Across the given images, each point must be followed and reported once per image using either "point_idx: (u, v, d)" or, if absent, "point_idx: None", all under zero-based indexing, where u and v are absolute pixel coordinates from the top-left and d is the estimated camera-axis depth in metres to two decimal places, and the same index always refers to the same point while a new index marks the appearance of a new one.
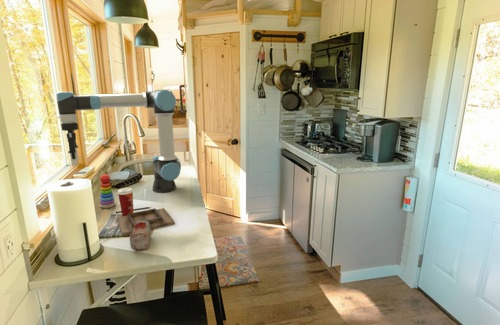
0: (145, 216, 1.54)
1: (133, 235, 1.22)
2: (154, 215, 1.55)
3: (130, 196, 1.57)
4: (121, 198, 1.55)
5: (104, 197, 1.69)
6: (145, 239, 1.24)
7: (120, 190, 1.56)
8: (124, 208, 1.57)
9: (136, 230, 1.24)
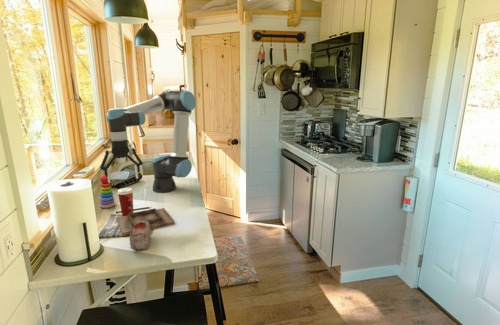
0: (145, 216, 1.54)
1: (133, 235, 1.22)
2: (154, 215, 1.55)
3: (130, 196, 1.57)
4: (121, 198, 1.55)
5: (104, 197, 1.69)
6: (145, 239, 1.24)
7: (120, 190, 1.56)
8: (124, 208, 1.57)
9: (135, 230, 1.24)
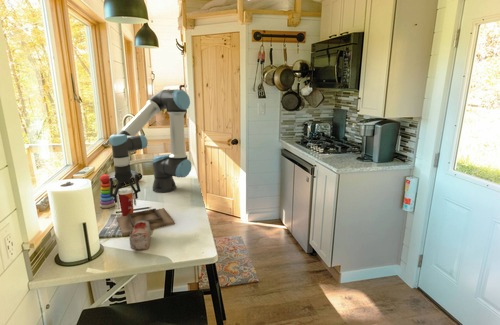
0: (145, 216, 1.54)
1: (133, 235, 1.22)
2: (154, 215, 1.55)
3: (130, 196, 1.57)
4: (121, 198, 1.55)
5: (104, 197, 1.69)
6: (145, 239, 1.24)
7: (120, 190, 1.56)
8: (124, 208, 1.57)
9: (135, 230, 1.24)
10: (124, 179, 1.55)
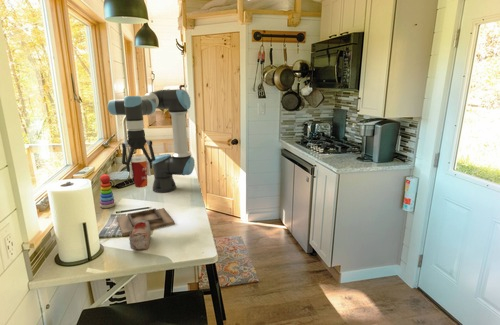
0: (145, 216, 1.54)
1: (133, 235, 1.22)
2: (154, 215, 1.55)
3: (144, 165, 1.43)
4: (134, 167, 1.41)
5: (104, 197, 1.69)
6: (145, 239, 1.24)
7: (133, 158, 1.42)
8: (137, 177, 1.42)
9: (135, 230, 1.24)
10: (138, 146, 1.41)
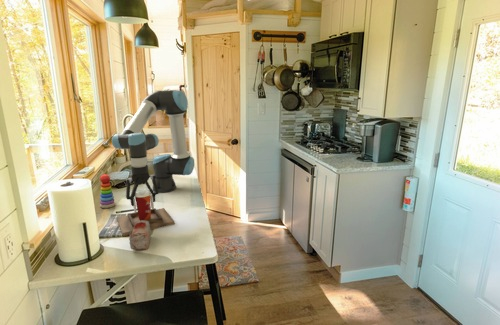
0: None
1: (133, 235, 1.22)
2: (154, 215, 1.55)
3: (148, 199, 1.47)
4: (138, 201, 1.45)
5: (104, 197, 1.69)
6: (145, 239, 1.24)
7: (137, 192, 1.46)
8: (141, 211, 1.46)
9: (135, 230, 1.24)
10: (141, 181, 1.45)
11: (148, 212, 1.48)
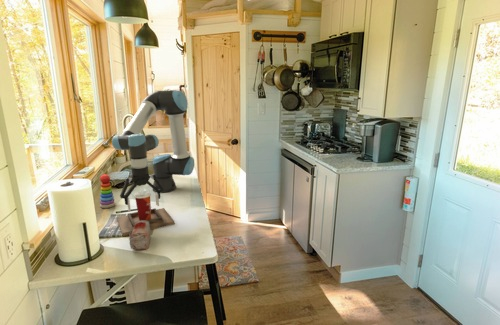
0: None
1: (133, 235, 1.22)
2: (154, 215, 1.55)
3: (148, 200, 1.47)
4: (138, 202, 1.45)
5: (104, 197, 1.69)
6: (145, 239, 1.24)
7: (137, 193, 1.46)
8: (141, 212, 1.47)
9: (135, 230, 1.24)
10: (142, 182, 1.45)
11: (148, 213, 1.48)
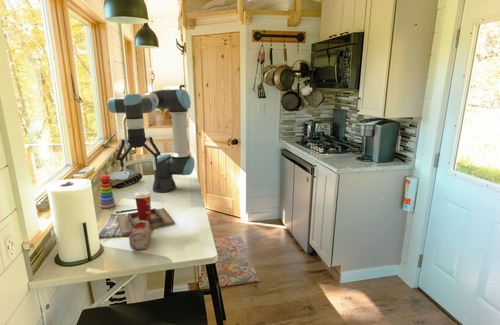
0: None
1: (132, 235, 1.23)
2: (154, 215, 1.55)
3: (148, 200, 1.47)
4: (138, 202, 1.45)
5: (104, 197, 1.69)
6: (144, 239, 1.24)
7: (137, 193, 1.46)
8: (141, 212, 1.47)
9: (135, 230, 1.25)
10: (138, 144, 1.41)
11: (148, 213, 1.48)
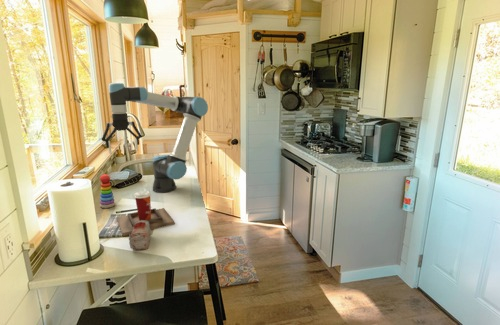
0: None
1: (132, 235, 1.23)
2: (154, 215, 1.55)
3: (148, 200, 1.47)
4: (138, 202, 1.45)
5: (104, 197, 1.69)
6: (144, 239, 1.24)
7: (137, 193, 1.46)
8: (141, 212, 1.47)
9: (135, 230, 1.25)
10: (121, 127, 1.61)
11: (148, 213, 1.48)
